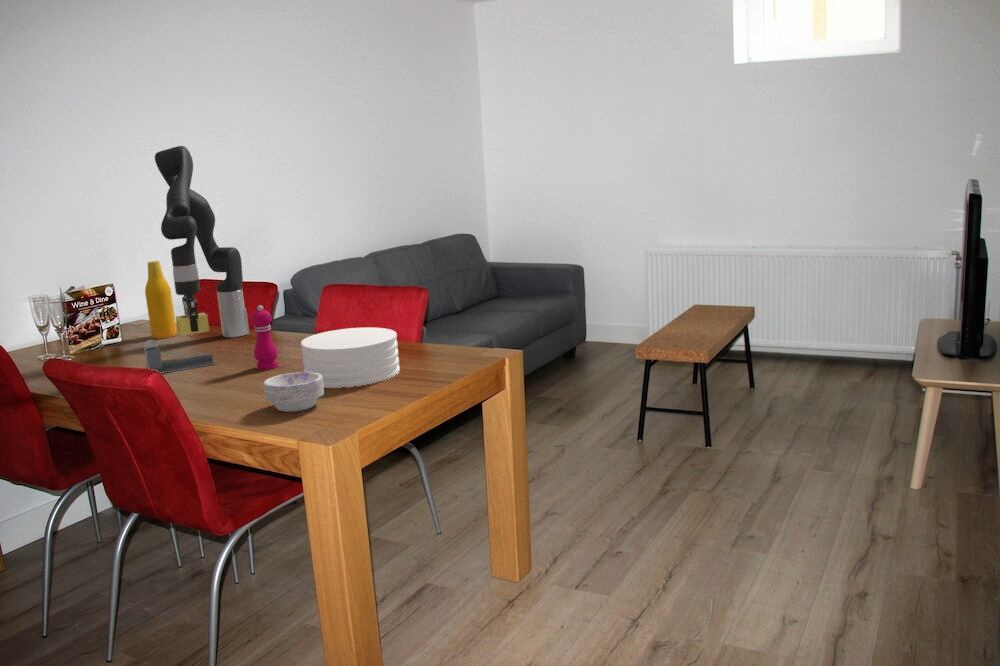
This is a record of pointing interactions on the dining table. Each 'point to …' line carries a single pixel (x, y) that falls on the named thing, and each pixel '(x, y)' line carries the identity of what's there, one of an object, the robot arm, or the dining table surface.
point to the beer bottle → (159, 303)
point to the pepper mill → (264, 340)
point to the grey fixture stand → (174, 360)
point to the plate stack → (352, 356)
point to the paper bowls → (294, 390)
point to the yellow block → (185, 327)
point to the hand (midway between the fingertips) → (193, 329)
